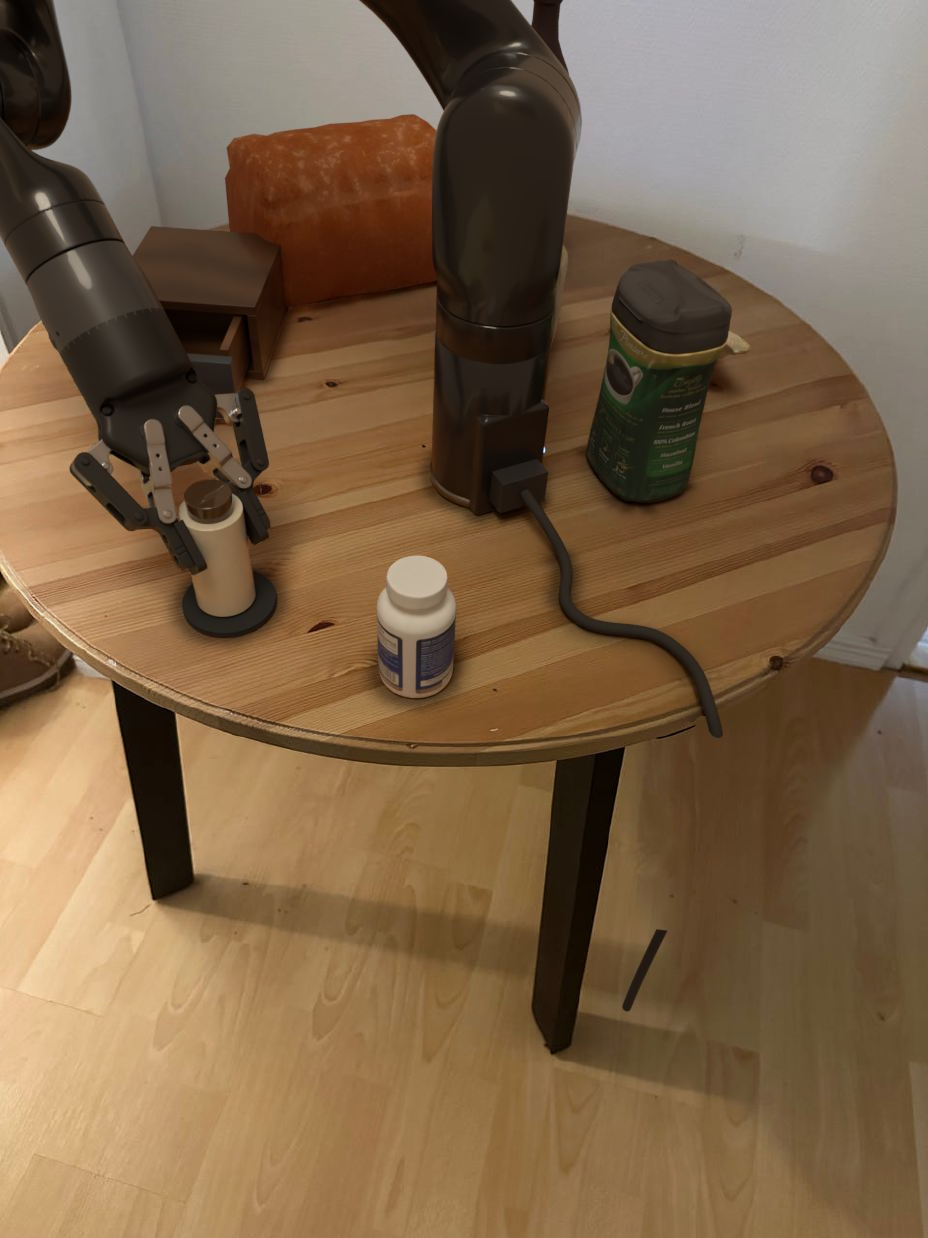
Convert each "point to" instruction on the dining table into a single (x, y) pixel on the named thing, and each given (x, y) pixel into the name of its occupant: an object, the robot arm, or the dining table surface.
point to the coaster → (236, 623)
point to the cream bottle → (219, 548)
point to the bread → (339, 204)
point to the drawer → (215, 347)
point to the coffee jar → (656, 380)
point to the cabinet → (220, 280)
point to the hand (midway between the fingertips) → (231, 555)
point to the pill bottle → (416, 628)
